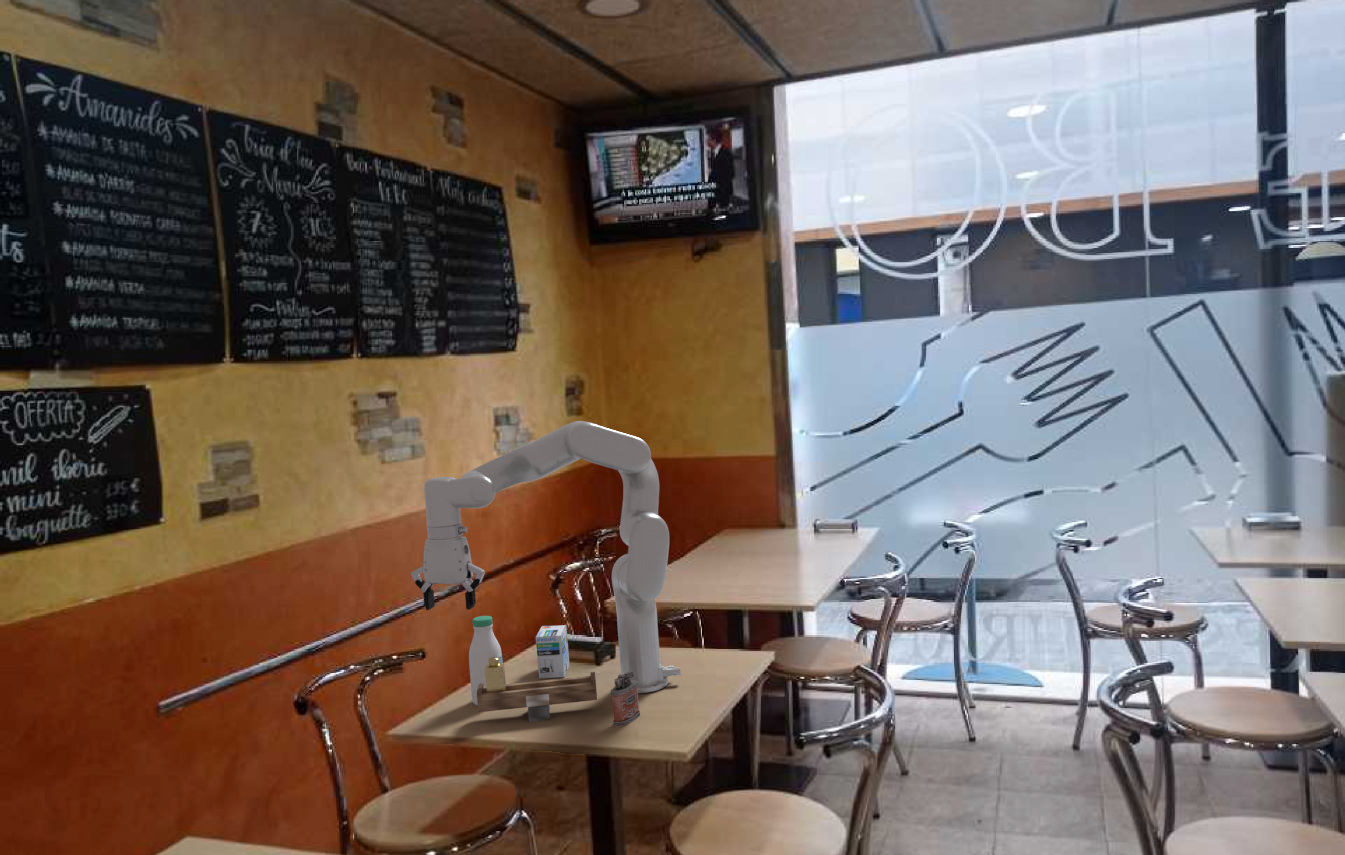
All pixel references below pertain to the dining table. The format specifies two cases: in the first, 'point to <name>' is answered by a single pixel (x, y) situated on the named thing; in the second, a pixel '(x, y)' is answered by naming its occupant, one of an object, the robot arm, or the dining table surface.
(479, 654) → the milk bottle
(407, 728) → the dining table surface
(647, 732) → the dining table surface
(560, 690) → the beam
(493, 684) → the rider
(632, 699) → the lighter
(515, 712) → the dining table surface
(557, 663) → the light bulb box
